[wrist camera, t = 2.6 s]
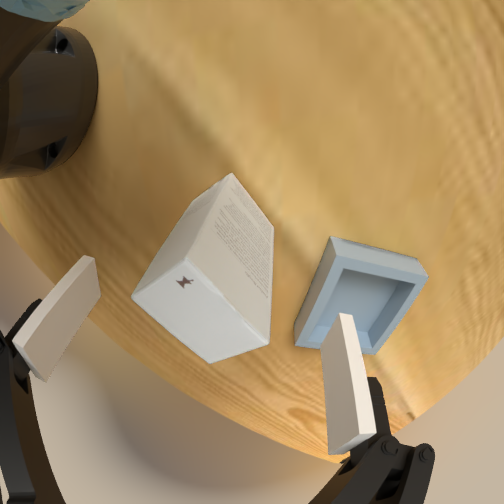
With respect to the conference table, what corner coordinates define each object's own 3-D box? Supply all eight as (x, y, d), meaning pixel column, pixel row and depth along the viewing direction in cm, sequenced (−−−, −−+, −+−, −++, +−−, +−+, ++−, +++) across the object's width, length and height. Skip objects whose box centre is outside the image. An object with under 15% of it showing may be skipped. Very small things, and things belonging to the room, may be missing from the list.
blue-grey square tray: (293, 324, 28) (294, 345, 26) (330, 236, 22) (336, 255, 20) (369, 334, 29) (375, 354, 26) (416, 258, 23) (428, 276, 20)
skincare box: (191, 199, 22) (125, 296, 12) (232, 170, 20) (185, 254, 10) (236, 252, 24) (208, 367, 14) (276, 229, 23) (274, 345, 12)
